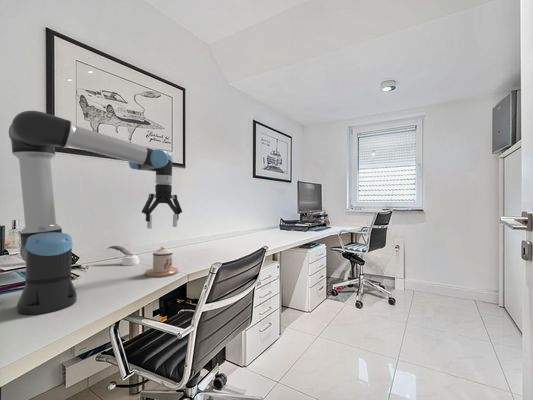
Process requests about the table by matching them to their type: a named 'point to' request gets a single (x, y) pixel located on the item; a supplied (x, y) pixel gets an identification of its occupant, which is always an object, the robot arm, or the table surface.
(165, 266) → the teacup with lid
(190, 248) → the table surface
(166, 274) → the dish
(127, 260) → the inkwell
